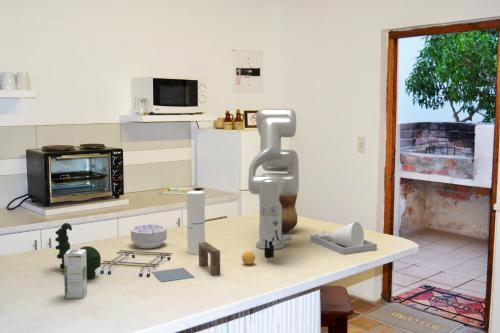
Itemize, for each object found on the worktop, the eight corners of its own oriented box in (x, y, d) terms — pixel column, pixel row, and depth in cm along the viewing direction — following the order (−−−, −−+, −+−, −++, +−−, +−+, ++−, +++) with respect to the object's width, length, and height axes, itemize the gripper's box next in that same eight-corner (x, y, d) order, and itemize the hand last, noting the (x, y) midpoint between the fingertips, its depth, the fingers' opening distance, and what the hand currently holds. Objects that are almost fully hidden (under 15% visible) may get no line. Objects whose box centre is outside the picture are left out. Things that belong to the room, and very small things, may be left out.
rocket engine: (317, 220, 237) (353, 216, 226) (329, 233, 244) (365, 230, 233) (311, 243, 231) (349, 240, 220) (324, 256, 238) (361, 254, 227)
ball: (251, 261, 208) (251, 249, 208) (257, 265, 204) (257, 252, 203) (239, 263, 206) (239, 250, 205) (245, 266, 201) (245, 253, 201)
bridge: (206, 264, 205) (206, 241, 204) (220, 274, 192) (220, 250, 191) (198, 265, 204) (198, 242, 203) (212, 275, 191) (212, 251, 190)
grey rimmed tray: (341, 236, 248) (342, 231, 248) (376, 249, 225) (376, 244, 225) (310, 240, 240) (310, 235, 240) (343, 254, 218) (343, 248, 218)
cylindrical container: (202, 254, 218) (201, 193, 215) (185, 253, 219) (184, 193, 216) (207, 250, 225) (206, 191, 222) (190, 249, 226) (190, 190, 223)
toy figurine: (51, 275, 197) (88, 284, 180) (46, 224, 196) (83, 228, 179) (74, 269, 204) (112, 277, 187) (70, 220, 203) (108, 223, 186)
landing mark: (183, 268, 200) (183, 267, 200) (194, 277, 189) (194, 276, 189) (151, 272, 195) (151, 271, 195) (161, 282, 184) (161, 281, 184)
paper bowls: (142, 252, 221) (142, 233, 220) (124, 245, 232) (124, 227, 232) (173, 246, 231) (173, 228, 230) (155, 239, 242) (154, 222, 242)
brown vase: (298, 235, 251) (298, 182, 248) (269, 235, 251) (269, 182, 248) (296, 228, 265) (296, 178, 262) (269, 228, 265) (269, 178, 262)
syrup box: (69, 292, 174) (67, 248, 172) (87, 292, 174) (86, 248, 172) (64, 299, 168) (62, 253, 166) (84, 298, 168) (82, 253, 167)
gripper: (287, 213, 201) (287, 261, 203) (268, 206, 215) (268, 251, 216) (269, 214, 198) (269, 263, 200) (252, 208, 211) (252, 253, 213)
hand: (269, 257), depth 208 cm, fingers closed
